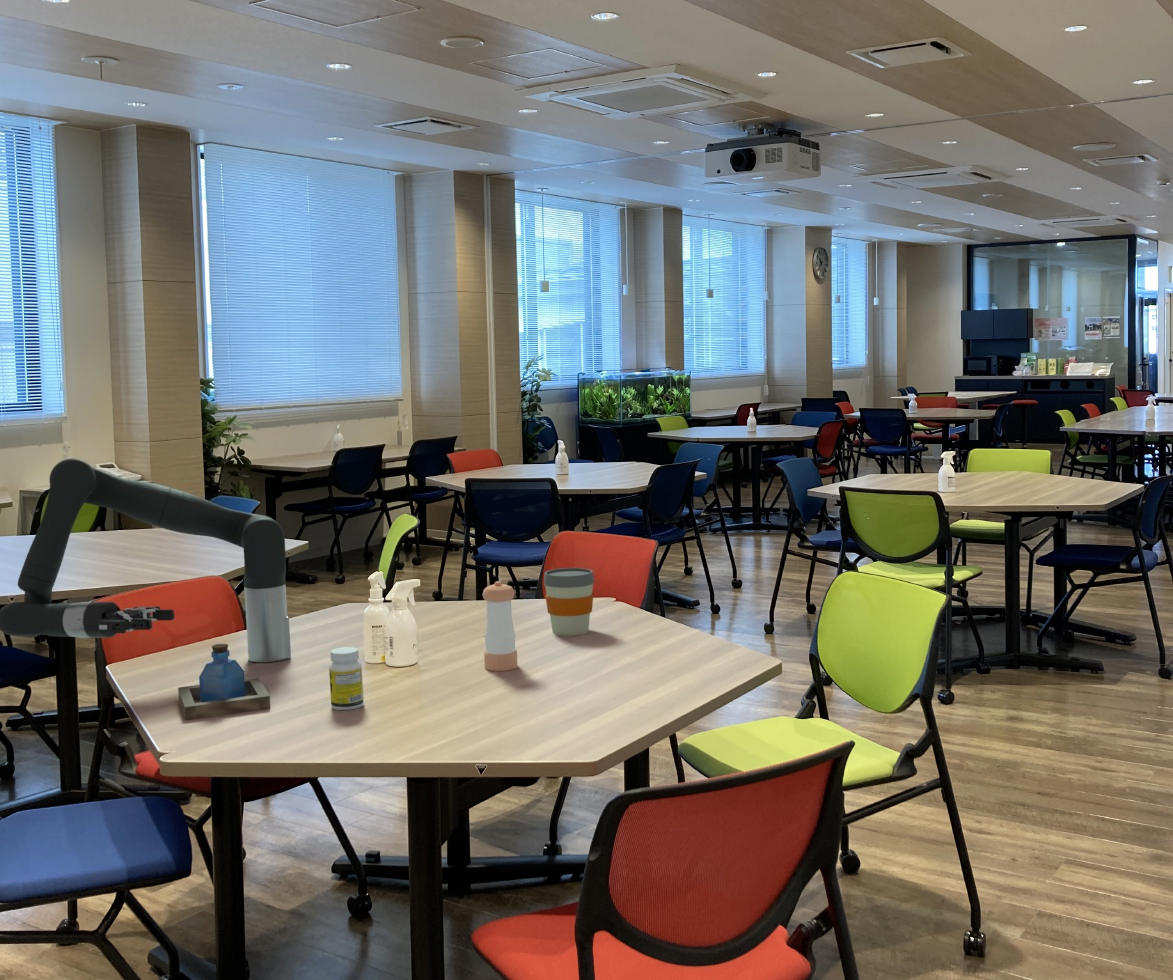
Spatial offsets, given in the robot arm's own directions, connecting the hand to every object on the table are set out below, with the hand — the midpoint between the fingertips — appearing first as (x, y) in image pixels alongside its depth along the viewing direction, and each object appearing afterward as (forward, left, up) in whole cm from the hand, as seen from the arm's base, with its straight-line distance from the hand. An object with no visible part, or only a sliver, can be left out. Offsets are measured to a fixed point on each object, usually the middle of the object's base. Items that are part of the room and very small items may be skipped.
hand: (162, 619), depth 244 cm
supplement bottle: (-32, +28, -16) cm, 45 cm away
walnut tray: (-10, +14, -16) cm, 23 cm away
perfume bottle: (-10, +14, -16) cm, 23 cm away
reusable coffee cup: (-96, -11, -16) cm, 98 cm away
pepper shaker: (-69, +14, -16) cm, 72 cm away
